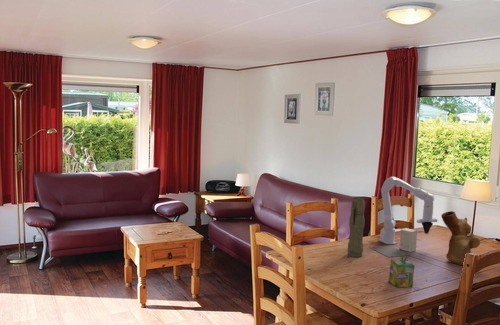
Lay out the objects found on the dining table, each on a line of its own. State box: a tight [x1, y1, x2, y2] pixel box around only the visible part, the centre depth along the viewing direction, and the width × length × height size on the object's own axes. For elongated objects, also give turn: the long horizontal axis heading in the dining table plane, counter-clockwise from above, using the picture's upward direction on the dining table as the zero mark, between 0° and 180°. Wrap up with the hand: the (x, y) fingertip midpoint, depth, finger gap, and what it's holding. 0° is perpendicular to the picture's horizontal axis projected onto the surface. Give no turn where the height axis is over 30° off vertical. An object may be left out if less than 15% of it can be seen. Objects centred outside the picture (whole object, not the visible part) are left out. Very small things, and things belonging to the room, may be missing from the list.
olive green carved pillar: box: [347, 196, 366, 259], centre depth 275 cm, size 9×12×35 cm
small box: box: [399, 227, 418, 253], centre depth 292 cm, size 8×6×13 cm
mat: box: [368, 245, 411, 258], centre depth 288 cm, size 20×16×1 cm
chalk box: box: [388, 255, 415, 288], centre depth 231 cm, size 9×9×15 cm
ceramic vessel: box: [440, 210, 481, 266], centre depth 269 cm, size 16×22×30 cm
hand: (426, 233), depth 296 cm, fingers closed
